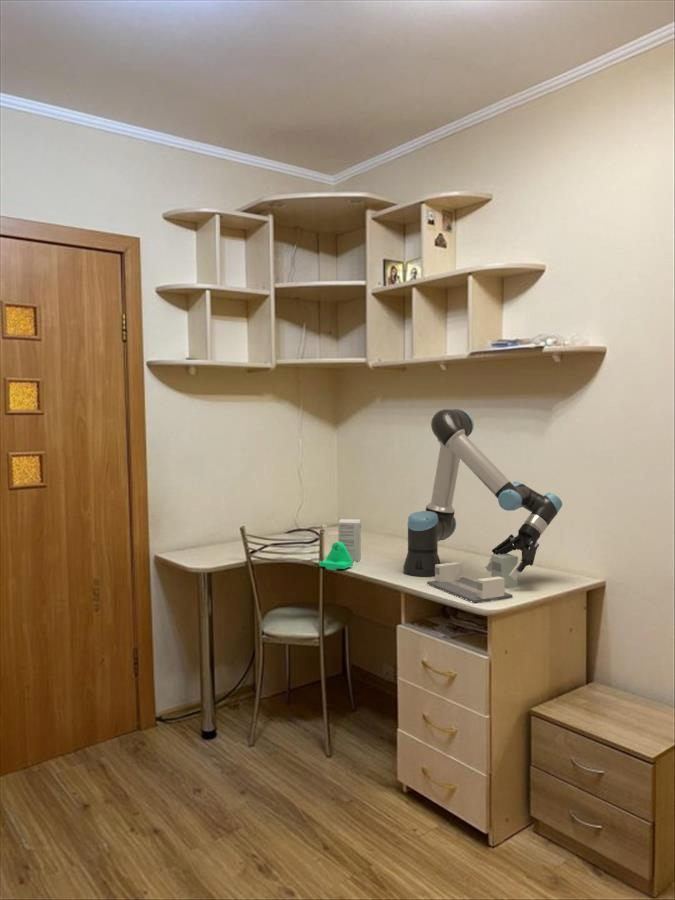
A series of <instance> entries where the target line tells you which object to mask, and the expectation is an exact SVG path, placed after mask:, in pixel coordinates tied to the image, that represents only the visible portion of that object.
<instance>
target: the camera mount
mask: <svg viewBox="0 0 675 900" xmlns="http://www.w3.org/2000/svg"><path fill="white" fill-rule="evenodd" d="M321 561H322V560H320V561H318V566H320V567H323V568H325V570H330V571H331V570H332V571H338V570H340V569H342V570H344V569H348V568H350V567H352V566H354V562H353V561H352V559H351V557H350V555H349V553H348V551H347V549H346V547H345V545H344V544H343V543H342V542H338V541H337V542H334V543H332V544H331V550H330V551H329V553H328V554H327V556H326V558H325V559H323V561H322V562H321Z"/></svg>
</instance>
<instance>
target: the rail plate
mask: <svg viewBox="0 0 675 900" xmlns="http://www.w3.org/2000/svg"><path fill="white" fill-rule="evenodd" d="M434 578H435V579H434V580H430V581H427V582H426V585H427V584H429V585H428V586H430V585H431V586H430V587H432V586H434V587H433V588H435V587H436V589H437V588H439V589H438V590H440V589H441V590H440V591H442V590H444V591H443V592H445V591H446V592H445V593H447V592H449V593H448V594H450V593H452V594H454V595H453V596H455V595H456V596H455V597H457V596H459V597H458V598H460V597H462V598H464V599H463V600H465V599H467V600H469V601H468V602H470V601H472V602H474V603H473V604H476V603H475V602H480V603H483V602H482V601H487V602H492V601H491V600H494V601H498V600H506V599H507V600H508V599H512V598H513V596H514V594H512V593H509V592H506V591H505V589H504V583H505V578H502V577H499V576H498V577H491V576H490V577H485V578H484V577H483V578H477V580H476V581H475V580H472V579H469V578H467V577H464V576H462V577H461V563H459V562H447V563H441V564H436V565H435V576H434ZM452 594H451V595H452ZM462 598H461V599H462ZM467 600H466V601H467ZM472 602H471V603H472Z"/></svg>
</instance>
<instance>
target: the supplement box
mask: <svg viewBox="0 0 675 900" xmlns="http://www.w3.org/2000/svg"><path fill="white" fill-rule="evenodd" d="M337 525H338V527H337V529H338V532H337V533H338V538H337V539H338V540H337V542H342V543H343V544H344V545H345V547H346V549H347V551H348V553H349V555H350V557H351V559H352V561H360V562H361V555H362V554H361V553H362V552H361V551H362V550H361V549H362V548H361V546H362V543H361V542H362V539H361V538H362V537H361V534H362V533H361V531H362V520H361V519H359V518H358V519H357V518H356V519H353V518H344V519H343V518H341V519H339V521H338V524H337Z"/></svg>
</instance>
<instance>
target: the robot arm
mask: <svg viewBox="0 0 675 900" xmlns="http://www.w3.org/2000/svg"><path fill="white" fill-rule="evenodd" d="M430 426H431V431H432V434H433V435H434V436H435V437H436V439H437V442H438V443H439V445H440V446H439V453H438V456H437V457H438V459H437V466H436V469H435V476H434V480H433V481H434V482H433V488H432V494H431V499H430V502H429V503H428V504H427V505H426V506H425V510H421V511H415V512H412V513H410V514H409V516H407V517H408V518H407V553H406V557H405V561H404V563H403V566H402V567H403V569H402V570H403V571H402V572H403V574H405V575H408V576H414V577H435V565H436V564H442V563H441V559H440V557H439V554H438V553H439V552H438V551H439V550H438V545H439V544H438V543H439V542H441V541H446V539H448V538H450V537H451V536H452V535H453V534H454V533H455V530H456V528H457V521H456V520H457V519H456V517H455V511H456V510H455V509H454V507H453V502H454V496H455V491H456V483H457V478H458V474H459V473H458V472H459V466H460V461H461V462H463V463H464V465H465V466H466V467H467V468H468V469H470V471H471V472H472V473H473V474H474V475H475V477H477V478H478V480H480V481H481V483H483V485H484V486H485V487H487V489H488V490H489V491H490V492H491V493H492V495H494V497H496V498H497V501H498V504H499V507H500V508H502V510H504V511H507V512H508V511H509V512H511V511H516V510H519V509H520V508H524V509H525V510H527V511H529V512H530V514H529V516H528V517H527V518H526V519H525V520H524V523H523V524H522V525H521V526H520V528H519V529H518V530H517V535H516V536H514V535H513V533H512V534H510V535H509V536H508V537H507V538H506V539H504V540H503V541H502V542H500V543H499V544H498V545H497V546H495V547H494V548H493V549H491V552H492V553H493V555H499V554H509V553H510V552H512V551H516V550H517V551H521V559H520V560H518V564H517V565H516V566H515V568H514V569H513V570H512V572H511V573H510V575H509V576H510V577H511V578H512V579H513V580H515V579H516V578H517V577H519V575H520V574H521V573H522V572H523V571H524V570H525V568H526V567H528V566H530V567H531V566H533V565H534V561H535V558H536V554H537V550H538V548H539V547H540V544H539V543H538V540H539V539H540V537H541V535H543V533H544V532H545V530H546V529H547V527H549V526H550V524H551V523H552V521H553V520H554V519H555V517H556V516H557V515H558V513H559V512H560V510H561V508H562V506H563V501H562V500H561V498H560V497H559V496H557V495H556V494H554V493H551V492H546V493H545V494H544V495H543V494H541V493H539V492H537V491H535V490H534V489H532V488H530V487H528V486H527V485H525V484H524V483H521V482H519V481H513V482H511V481H510V480H509V479H508V477H506V475H505V474H503V472H501V470H500V469H499V468H498V467H496V465H495V464H494V463H493V462H492V461H491V460H490V459H489V458H488V456H487V455H485V454H484V453H483V451H482V450H480V449H479V447H478V446H477V445H476V444H475V443H474V442H473V441H472V440H471V439H470V438H469V436H470V435H471V434H472V432H473V431H474V420H473V418H472V416H471V414H469V413H468V412H467V411H465V410H462V409H459V408H458V409H457V408H454V409H453V408H450V409H448V408H445V409H441V410H439V411H437V412H436V413H435V414H434V415H433V417H432V418H431V423H430ZM491 563H492V557H491V558H489V560H488V563H486V565H485V567H484V569H485V570H487V572H488V573H491Z"/></svg>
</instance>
